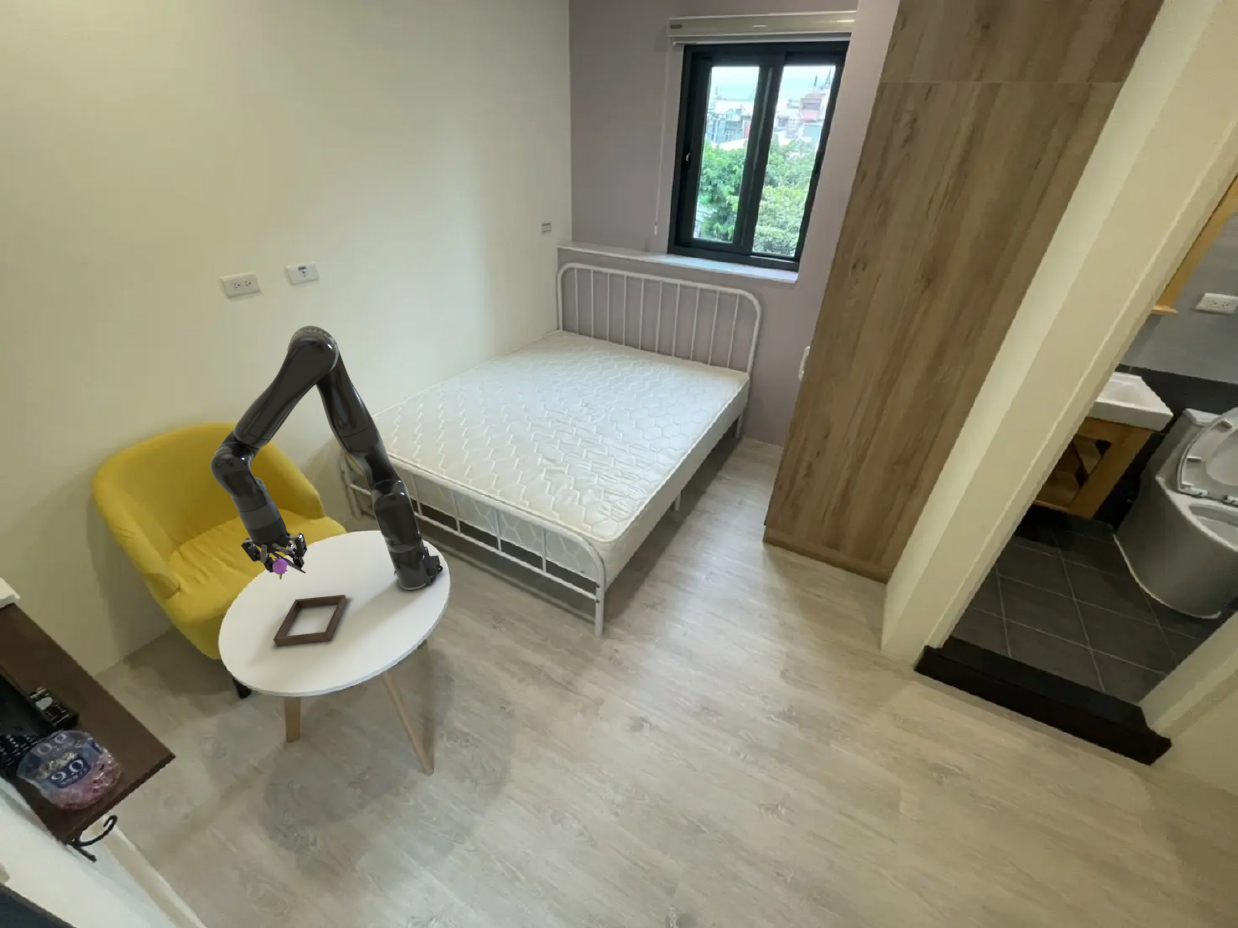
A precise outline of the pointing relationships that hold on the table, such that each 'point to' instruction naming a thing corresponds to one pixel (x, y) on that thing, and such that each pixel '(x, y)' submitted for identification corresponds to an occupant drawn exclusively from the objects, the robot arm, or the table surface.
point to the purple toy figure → (283, 565)
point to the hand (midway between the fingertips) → (287, 568)
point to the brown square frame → (312, 637)
